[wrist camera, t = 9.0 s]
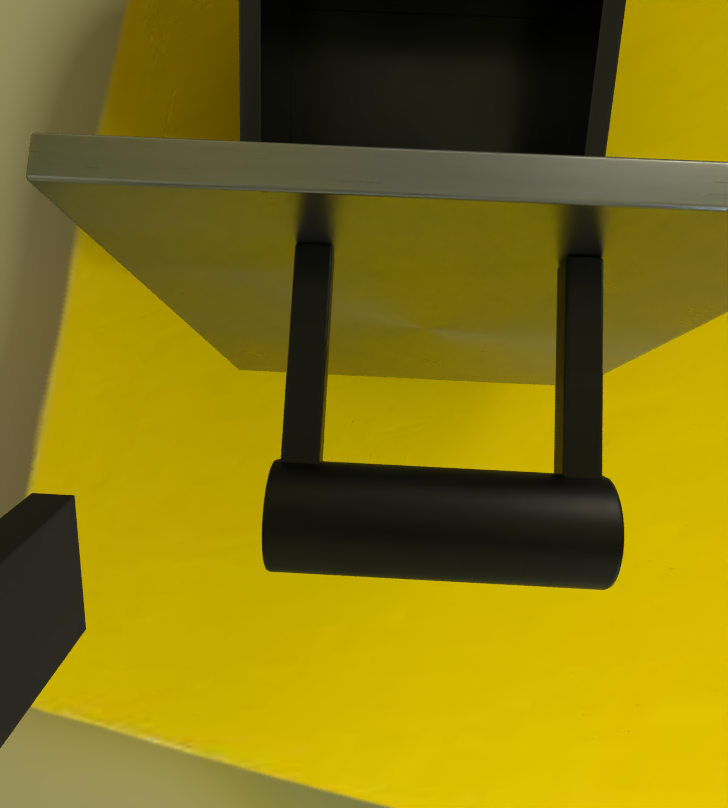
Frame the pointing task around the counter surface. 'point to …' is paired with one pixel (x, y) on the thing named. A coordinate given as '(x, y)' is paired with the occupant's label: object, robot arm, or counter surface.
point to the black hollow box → (431, 73)
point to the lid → (415, 318)
